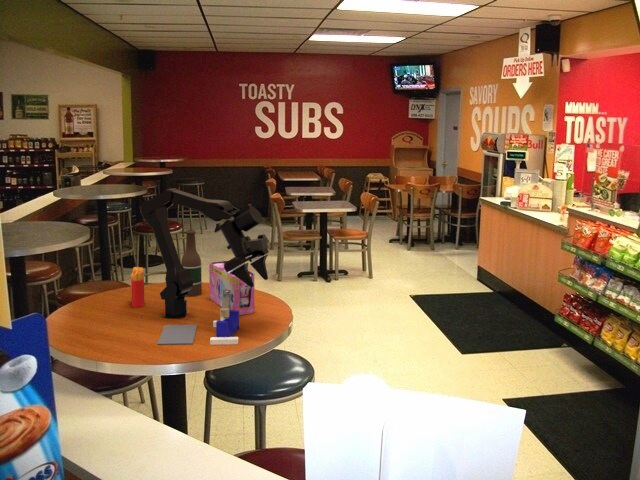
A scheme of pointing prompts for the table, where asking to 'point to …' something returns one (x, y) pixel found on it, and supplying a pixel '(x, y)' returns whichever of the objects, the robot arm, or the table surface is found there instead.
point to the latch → (225, 304)
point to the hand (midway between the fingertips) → (259, 283)
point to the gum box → (231, 288)
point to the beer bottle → (192, 263)
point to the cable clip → (228, 325)
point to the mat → (177, 335)
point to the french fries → (137, 287)
